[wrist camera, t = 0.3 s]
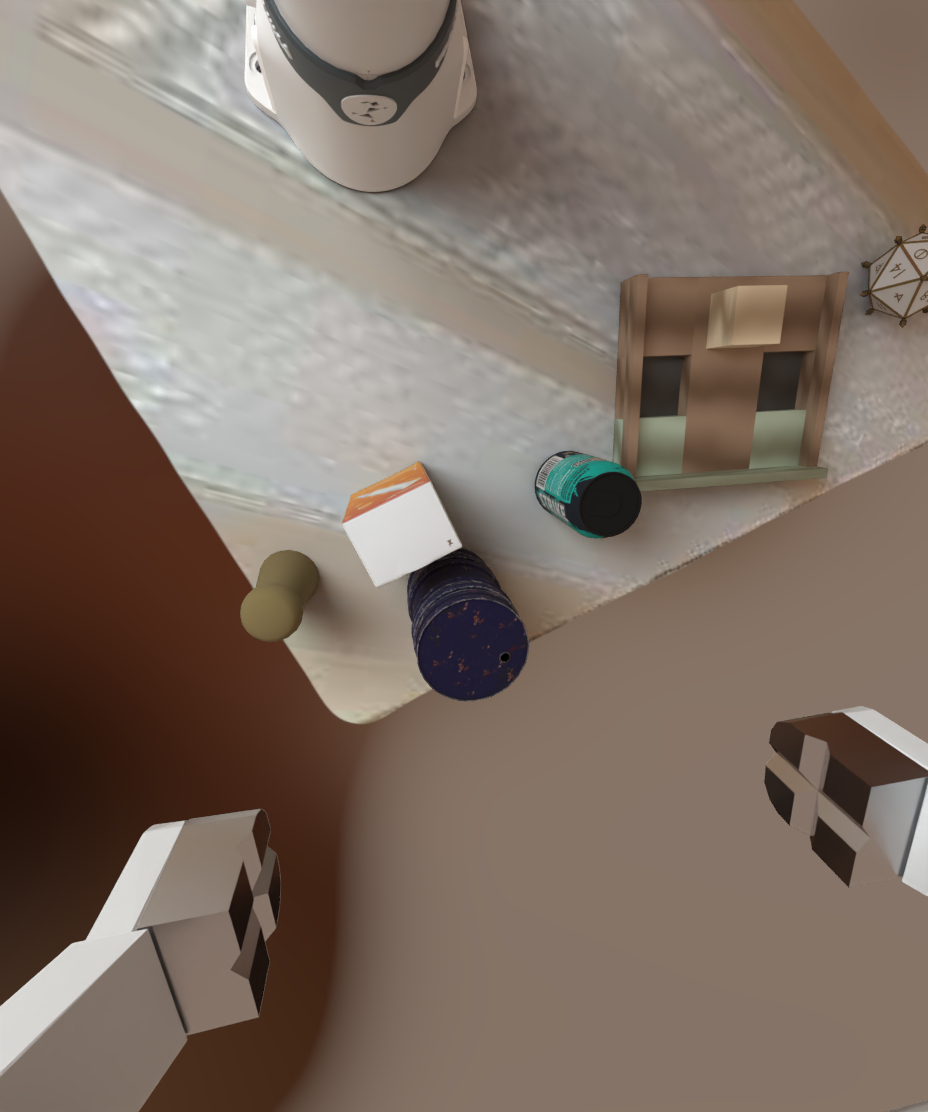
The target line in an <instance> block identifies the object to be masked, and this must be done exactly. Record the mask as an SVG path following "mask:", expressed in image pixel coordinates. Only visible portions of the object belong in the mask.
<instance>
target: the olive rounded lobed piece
mask: <svg viewBox="0 0 928 1112" xmlns="http://www.w3.org/2000/svg"><path fill="white" fill-rule="evenodd" d="M318 581H319V576H318V570H317V568H316V566H315V564H314V562H313V561H311V560H310V559H309V558H308V557H307V556H306V555H304V554H302V553H300V552H297V551H291V550H285V551H279V552H276V553H274V554H272V555H270V556H269V557H268V558H267V559H266V560H265V561H264V563H263V564H262V566H261V568H260V572H259V576H258V581H257V585H256V588H254V589H253V590H252V591H251V592H250V593H249V594H248V595H247V596H246V597H245V599H244V601H243V603H242V605H241V613H240V616H241V620H242V624H243V626H244V627H245V629H246V631H247V632H248V633H250V634H251V635H252V636H253V637H255V638H257V639H260V640H262V641H269V642H274V641H280V640H283V639H285V638H287V637H289V636H290V635H291V634H292V633H294V632H295V631H296V630H297V628H298V627H299V625H300V623H301V621H302V616H303V606H304V605H305V604H306V603H307V601H308V600H309V599H310V597H311V596H312V595H313V593H314V592H315V590H316V588H317V586H318Z"/></svg>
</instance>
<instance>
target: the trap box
mask: <svg viewBox="0 0 928 1112" xmlns="http://www.w3.org/2000/svg"><path fill="white" fill-rule="evenodd" d="M848 275H849V272H838V273H834V274H831V275H818V276H745V277H671V278H648V274H643V275H636V276H634V277H632V278H629V279H627V280H625V281H623V282H621V294H620V316H619V338H618V359H617V381H616V403H615V424H614V446H613V462H614V463H617V464H619V465H621V466H623V467H624V468H626V469H627V470H628V471H629V472H630V473H631V474H632V476H633V477H634V479H635V481H636V483H637V485H638V487H639V489H640V492H642V491H655V490H669V489H682V488H696V487H709V486H723V485H736V484H750V483H763V482H777V481H790V480H804V479H817V478H826V477H827V471H828V468H822V467H817V462H818V456H819V449H820V443H821V437H822V431H823V425H824V419H825V413H826V407H827V401H828V395H829V389H830V383H831V377H832V371H833V365H834V359H835V353H836V347H837V341H838V335H839V329H840V323H841V317H842V311H843V305H844V299H845V293H846V287H847V281H848ZM759 285H788V287H787V294H786V302H785V309H784V317H783V324H782V331H781V339H780V344H772V345H765V346H757V347H744V348H714V349H706V344H707V334H708V323H709V312H710V302H711V294H713V293H716V292H720V291H723V290H726V289H729V288H733V287H736V286H759Z"/></svg>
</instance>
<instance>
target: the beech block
mask: <svg viewBox="0 0 928 1112" xmlns="http://www.w3.org/2000/svg"><path fill="white" fill-rule="evenodd" d="M787 287H788V285H759V286H736V287H733V288H729V289H726V290H723V291H720V292H716V293H713V294H711V302H710V312H709V323H708V334H707V344H706V349H714V348H744V347H757V346H765V345H772V344H780V339H781V331H782V324H783V317H784V309H785V302H786V294H787Z"/></svg>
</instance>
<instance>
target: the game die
mask: <svg viewBox="0 0 928 1112" xmlns="http://www.w3.org/2000/svg"><path fill="white" fill-rule="evenodd" d="M926 228H927V227H926V226H925V225H924V224H923V225H922V226H921V227H920V228H919V232H920V233H919V234H917V235H915V236H913V237H911V238H909V239H906V240H904V241H902V236H897V237H896V239H895V240H894V241H895V243H897V245H896V246H894V247H893V248H891V249H890V250H889V251H887V252H886V253H885V254H883V255H882V256H881V257H879V258H878V259H877V260H875V261H874V262H873V263H870V262H867V261H866V262H863V263H862V265H863V267H869V287H868V291H867V290H865V291H863V292H862V294H861V295H860V296H863V297H865V296H867V295H869V297H870V301H871V305H872V308H870V309H868V310H867V312H866V315H868V314H871V313H873V311H874V310H877V311H880V312H883V313H886V314H889V315H892V316H895V317H898V318H901V319H902V320H901V321H900V324H899V325H900V326H901V327H902V328H903V327H904V325H906V322H907V321H906V318H908V317H910V316H912V315H914V314H915V313H917V312H919V311H921V310H922V311H923V313H928V233H924V231H925V230H926Z"/></svg>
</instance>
